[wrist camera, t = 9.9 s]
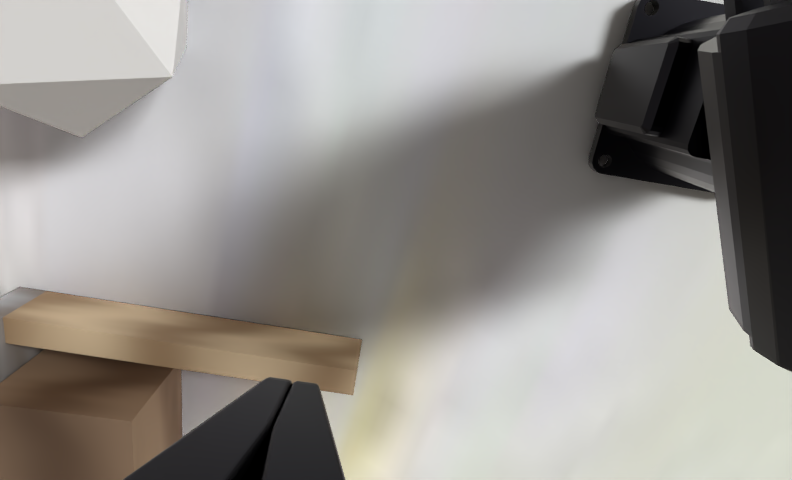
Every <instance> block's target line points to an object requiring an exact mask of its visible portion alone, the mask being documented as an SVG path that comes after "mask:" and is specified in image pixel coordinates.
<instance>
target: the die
mask: <svg viewBox="0 0 792 480" xmlns="http://www.w3.org/2000/svg"><path fill="white" fill-rule="evenodd" d="M187 13H188V0H0V107H3V108H6V109H8V110H11V111H13V112H16V113H19V114H21V115H24V116H26V117H29V118H32V119H34V120H37V121H39V122H42V123H45V124H47V125H50V126H52V127H55V128H58V129H60V130H63V131H65V132H68V133H71V134H73V135H76V136H78V137H81V138H83V137H84V136H86V135H87V134H89V133H90V132H91V131H93V130H94V129H96V128H97V127H99V126H100V125H102V124H103V123H105V122H106V121H108V120H109V119H111V118H112V117H114V116H115V115H117V114H118V113H120V112H121V111H123V110H124V109H126V108H127V107H129V106H130V105H132V104H133V103H135V102H136V101H137V100H139V99H140V98H142V97H143V96H145V95H146V94H148V93H149V92H151V91H152V90H154V89H155V88H157V87H158V86H160V85H161V84H163V83H164V82H166V81H167V80H169V79H170V78H172V77H173V75H174V73H175V71H176V69H177V67H178V65H179V62H180V60H181V58H182V56H183V54H184V52H185V50H186V48H187Z"/></svg>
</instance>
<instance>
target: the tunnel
mask: <svg viewBox="0 0 792 480" xmlns="http://www.w3.org/2000/svg"><path fill="white" fill-rule="evenodd" d="M361 343H362V340H361V339H355V338H348V337H342V336H335V335H329V334H322V333H316V332H309V331H303V330H296V329H290V328H283V327H277V326H270V325H264V324H257V323H251V322H244V321H238V320H231V319H225V318H218V317H212V316H205V315H199V314H192V313H186V312H179V311H173V310H166V309H160V308H153V307H147V306H140V305H134V304H127V303H121V302H114V301H108V300H101V299H95V298H88V297H82V296H75V295H69V294H62V293H56V292H49V291H43V290H36V289H30V288H23V287H19V288H17V289H15V290H13V291H11V292H9V293H8V294H6V295H4V296H2V297H0V383H1V382H2V381H3V380H5V379H6V378H7V377H9V376H10V375H11V374H13V373H14V372H15V371H17V370H18V369H19V368H21V367H22V366H23V365H25V364H26V363H27V362H29V361H30V360H31V359H32V358H34V357H35V356H36V355H38V354H39V353H40V352H42V351H43V350H44V349H48V350H55V351H62V352H68V353H75V354H82V355H88V356H95V357H102V358H108V359H115V360H122V361H128V362H135V363H142V364H149V365H155V366H162V367H169V368H175V369H182V370H189V371H195V372H202V373H209V374H215V375H222V376H229V377H235V378H242V379H249V380H255V381H263V380H264V379H266V378H268V377H274V378H281V379H288V380H291V381H292V384H293V383H294V382H296V381H302V382H309V383H316V384H318V386H319V387H320V390H322V391H329V392H335V393H342V394H349V395H353V393H354V386H355V380H356V374H357V368H358V362H359V356H360V350H361Z"/></svg>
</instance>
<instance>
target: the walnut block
mask: <svg viewBox="0 0 792 480" xmlns="http://www.w3.org/2000/svg"><path fill="white" fill-rule="evenodd" d="M181 438H182V389H181V369H175V368H169V367H162V366H155V365H149V364H142V363H135V362H128V361H122V360H115V359H108V358H102V357H95V356H88V355H82V354H75V353H68V352H62V351H55V350H48V349H44V350H43V351H42V352H40V353H39V354H38V355H36V356H35V357H34V358H32V359H31V360H30V361H29V362H27V363H26V364H25V365H23V366H22V367H21V368H19V369H18V370H17V371H15V372H14V373H13V374H11V375H10V376H9V377H7V378H6V379H5V380H3V381H2V382H1V383H0V480H123V479H124V478H125V477H127V476H128V475H130V474H131V473H133V472H134V471H135V470H137V469H138V468H140V467H141V466H142V465H144V464H145V463H147V462H148V461H149V460H151V459H152V458H154V457H155V456H157V455H158V454H159V453H161V452H162V451H164V450H165V449H166V448H168V447H169V446H171V445H172V444H174V443H175V442H176V441H178V440H179V439H181Z"/></svg>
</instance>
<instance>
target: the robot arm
mask: <svg viewBox="0 0 792 480" xmlns="http://www.w3.org/2000/svg"><path fill="white" fill-rule="evenodd" d="M647 2H651V3H652V4H653V6H654V10H653V12H652V14H651V15H650V16H649V15H647V14H646V13H645V11H644V10H645V5H646V3H647ZM595 118H596V120H597V121H598V123H599V125H598V128H597V131H596V135H595V138H594V142H593V145H592V148H591V152H590V155H589V161H588V162H589V165H590V167H591V168H592V169H593V170H594V171H596V172H598V173H601V174H607V175H613V176H619V177H624V178H630V179H636V180H642V181H648V182H654V183H660V184H666V185H672V186H678V187H684V188H690V189H695V190H701V191H707V192H713V193H715V198H716V206H717V214H718V222H719V230H720V239H721V247H722V255H723V263H724V271H725V279H726V288H727V296H728V304H729V310H730V311H731V313H732V314H733V316H734V317H735V319H736V320H737V322H738V323H739V325H740V326H741V328H742V329H743V330H744V331H745V332H746V333H747V334H748V335H749V338H750V346H751V347H752V349H753V350H755V351H756V352H758V353H759V354H761V355H762V356H764V357H765V358H767V359H769V360H770V361H772V362H773V363H775V364H776V365H778V366H780V367H782V368H784V369H786V370H788V371H791V372H792V0H724V5H723V4H717V3H712V2H707V1H701V0H637V1H636V2H635V4H634V6H633V9H632V12H631V16H630V19H629V23H628V26H627V29H626V33H625V36H624V40H623V43H622V45H620V46H619V47H617V48H616V49H615V50H614V51H613V55H612V58H611V61H610V65H609V68H608V72H607V75H606V79H605V82H604V86H603V89H602V93H601V96H600V99H599V103H598V106H597V110H596V113H595ZM602 155H607V157H608V159H607V162H606V164H604V165H602V166H600V165H599V163H598V162H599V158H600V157H601V156H602ZM123 480H345V477H344V473H343V470H342V466H341V462H340V459H339V455H338V452H337V448H336V445H335V441H334V437H333V434H332V430H331V427H330V423H329V420H328V416H327V412H326V409H325V405H324V402H323V398H322V394H321V391H320V387H319V386H318V384H316V383H309V382H302V381H296V382H294V383H293V384H292V381H291V380H288V379H281V378H274V377H268V378H266V379H264V380H263V381H261V382H260V383H258V384H257V385H256V386H254V387H253V388H251V389H250V390H249V391H247V392H246V393H244V394H243V395H241V396H240V397H239V398H237V399H236V400H234V401H233V402H232V403H230V404H229V405H227V406H226V407H224V408H223V409H222V410H220V411H219V412H217V413H216V414H215V415H213V416H212V417H210V418H209V419H207V420H206V421H205V422H203V423H202V424H200V425H199V426H198V427H196V428H195V429H193V430H192V431H191V432H189V433H188V434H186V435H185V436H183V437H182V438H181V439H179V440H178V441H176V442H175V443H174V444H172V445H171V446H169V447H168V448H166V449H165V450H164V451H162V452H161V453H159V454H158V455H157V456H155V457H154V458H152V459H151V460H149V461H148V462H147V463H145V464H144V465H142V466H141V467H140V468H138V469H137V470H135V471H134V472H133V473H131V474H130V475H128V476H127V477H125V478H124V479H123Z"/></svg>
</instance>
